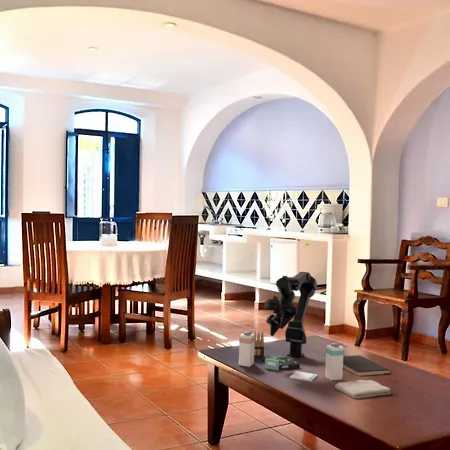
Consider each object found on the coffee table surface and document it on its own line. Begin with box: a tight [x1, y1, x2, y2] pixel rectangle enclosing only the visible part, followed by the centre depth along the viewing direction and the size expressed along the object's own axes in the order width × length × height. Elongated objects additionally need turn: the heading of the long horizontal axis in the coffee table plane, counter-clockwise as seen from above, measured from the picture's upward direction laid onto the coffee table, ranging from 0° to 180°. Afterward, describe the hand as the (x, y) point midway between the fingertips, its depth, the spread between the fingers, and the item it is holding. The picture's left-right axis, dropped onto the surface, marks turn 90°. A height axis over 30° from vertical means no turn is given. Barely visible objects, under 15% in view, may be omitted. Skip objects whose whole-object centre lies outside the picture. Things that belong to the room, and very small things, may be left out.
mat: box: [289, 370, 318, 383], centre depth 228 cm, size 9×9×1 cm
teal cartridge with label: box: [264, 359, 280, 371], centre depth 237 cm, size 1×6×4 cm, turn 65°
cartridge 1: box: [238, 331, 255, 368], centre depth 243 cm, size 5×5×14 cm
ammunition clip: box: [242, 330, 265, 359], centre depth 255 cm, size 11×2×12 cm, turn 105°
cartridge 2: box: [324, 342, 345, 381], centre depth 228 cm, size 5×5×14 cm
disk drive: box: [262, 354, 301, 371], centre depth 245 cm, size 10×3×15 cm
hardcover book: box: [343, 354, 391, 377], centre depth 246 cm, size 16×23×2 cm
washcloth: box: [334, 379, 391, 399], centre depth 213 cm, size 12×18×3 cm, turn 115°
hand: (276, 332), depth 236 cm, fingers open, 9 cm apart
